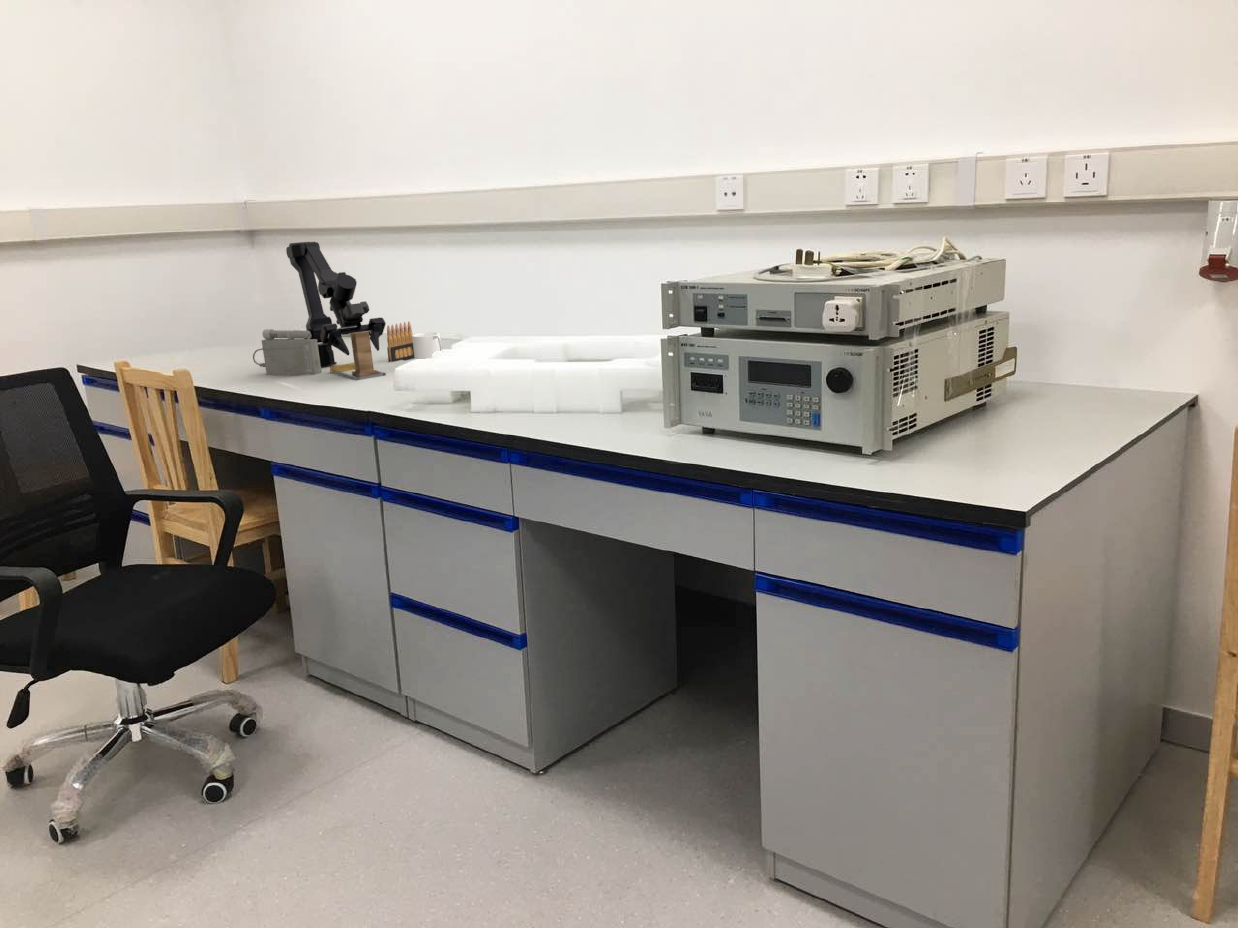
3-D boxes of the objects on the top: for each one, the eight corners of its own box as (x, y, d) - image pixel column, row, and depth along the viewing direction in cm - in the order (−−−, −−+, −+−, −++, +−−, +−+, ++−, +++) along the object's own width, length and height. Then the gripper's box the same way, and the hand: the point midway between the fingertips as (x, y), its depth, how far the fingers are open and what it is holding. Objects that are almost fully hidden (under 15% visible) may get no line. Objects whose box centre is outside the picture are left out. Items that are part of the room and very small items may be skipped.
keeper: (352, 376, 297) (346, 333, 293) (370, 373, 300) (364, 330, 296) (360, 378, 292) (354, 334, 289) (378, 375, 295) (372, 332, 292)
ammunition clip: (392, 363, 319) (387, 325, 316) (388, 363, 320) (383, 325, 317) (417, 357, 327) (412, 320, 324) (413, 357, 328) (408, 320, 325)
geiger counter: (318, 328, 304) (256, 328, 315) (304, 331, 299) (241, 331, 309) (325, 373, 308) (263, 372, 318) (310, 377, 302) (248, 375, 313)
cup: (432, 371, 299) (428, 338, 296) (410, 368, 308) (406, 335, 305) (455, 367, 304) (451, 334, 302) (433, 364, 313) (429, 331, 310)
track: (330, 373, 306) (329, 366, 306) (358, 369, 312) (357, 361, 311) (357, 381, 290) (355, 373, 289) (386, 377, 295) (385, 368, 294)
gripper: (317, 297, 288) (337, 338, 282) (379, 290, 298) (399, 329, 292) (312, 323, 296) (331, 363, 290) (371, 315, 306) (391, 354, 301)
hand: (363, 352), depth 293 cm, fingers open, 9 cm apart
